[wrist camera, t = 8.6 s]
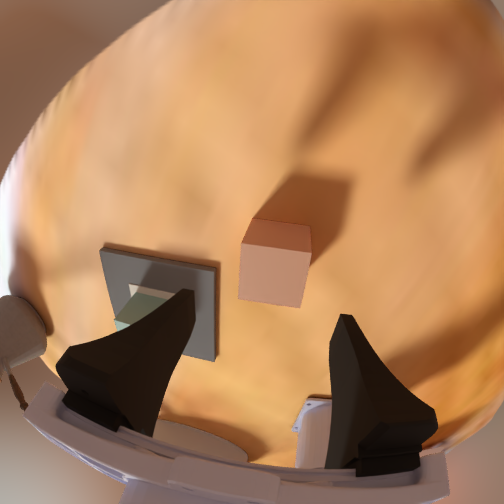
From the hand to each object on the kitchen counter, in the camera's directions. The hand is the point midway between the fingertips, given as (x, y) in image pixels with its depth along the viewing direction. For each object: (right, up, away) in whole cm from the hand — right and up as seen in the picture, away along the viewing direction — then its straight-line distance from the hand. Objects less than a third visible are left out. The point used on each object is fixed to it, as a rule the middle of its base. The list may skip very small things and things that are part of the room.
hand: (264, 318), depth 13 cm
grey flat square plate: (-9, -2, +12) cm, 15 cm away
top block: (+1, +4, +7) cm, 8 cm away
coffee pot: (-32, -7, +19) cm, 38 cm away
